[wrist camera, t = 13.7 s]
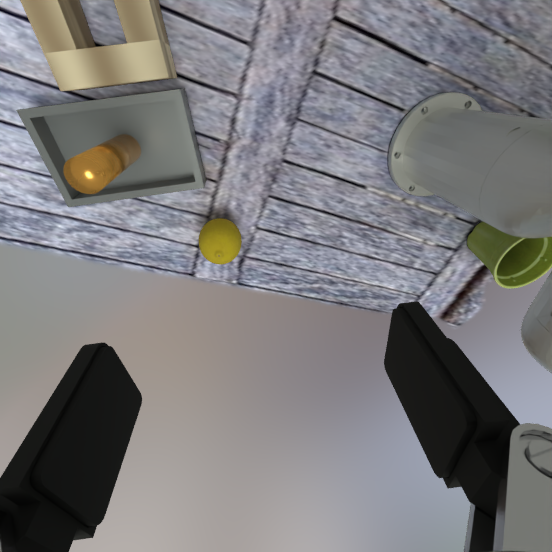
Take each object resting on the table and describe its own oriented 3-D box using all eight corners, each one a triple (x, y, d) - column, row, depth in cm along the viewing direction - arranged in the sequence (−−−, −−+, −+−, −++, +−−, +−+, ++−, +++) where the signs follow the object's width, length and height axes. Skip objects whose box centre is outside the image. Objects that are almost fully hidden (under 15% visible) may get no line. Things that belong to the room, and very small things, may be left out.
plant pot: (452, 225, 46) (492, 252, 39) (512, 196, 45) (566, 218, 37) (459, 267, 51) (496, 298, 44) (513, 243, 50) (560, 270, 43)
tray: (184, 88, 32) (179, 89, 29) (206, 179, 38) (204, 187, 35) (36, 107, 31) (16, 110, 28) (81, 197, 37) (68, 207, 34)
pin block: (144, -58, 26) (127, -84, 22) (177, 78, 31) (168, 77, 27) (28, -46, 25) (-11, -71, 21) (83, 89, 31) (60, 91, 27)
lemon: (193, 221, 41) (186, 248, 34) (227, 202, 40) (226, 227, 33) (215, 251, 44) (212, 281, 37) (247, 234, 43) (250, 262, 36)
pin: (135, 132, 33) (94, 154, 23) (144, 160, 35) (110, 191, 25) (108, 135, 33) (55, 159, 23) (119, 163, 34) (74, 196, 25)
